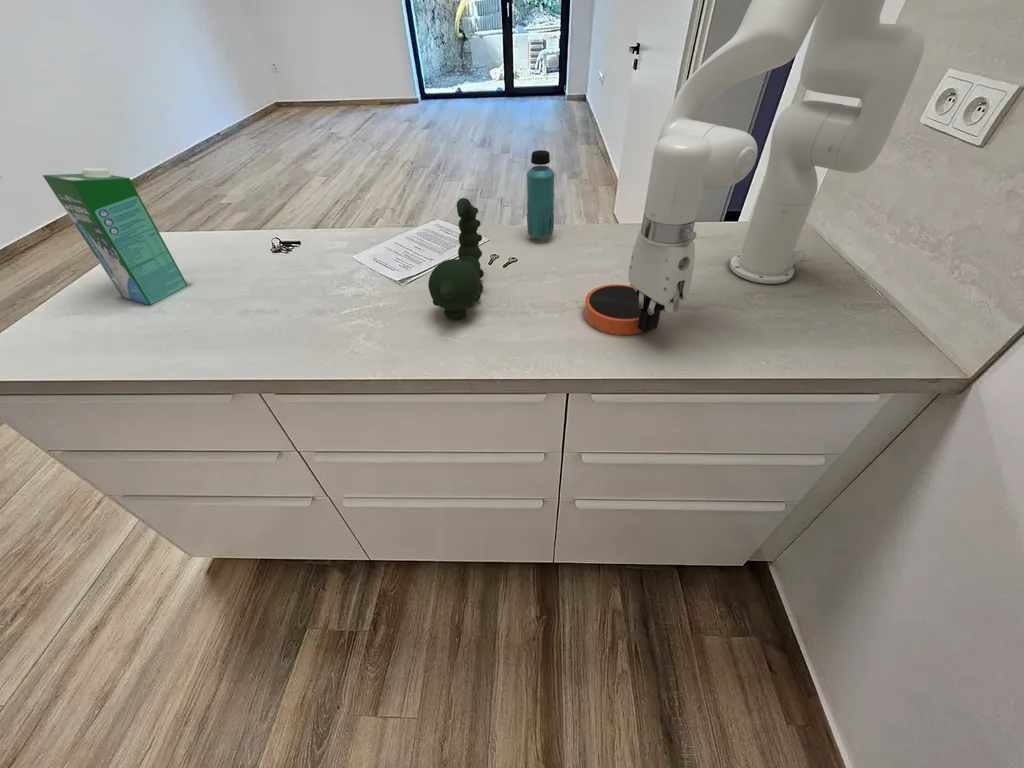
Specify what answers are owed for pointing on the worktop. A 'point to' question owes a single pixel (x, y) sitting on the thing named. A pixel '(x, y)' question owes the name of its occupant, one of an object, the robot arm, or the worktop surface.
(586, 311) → the pan
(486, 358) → the worktop surface
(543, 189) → the beverage bottle
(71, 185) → the milk carton
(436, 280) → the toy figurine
